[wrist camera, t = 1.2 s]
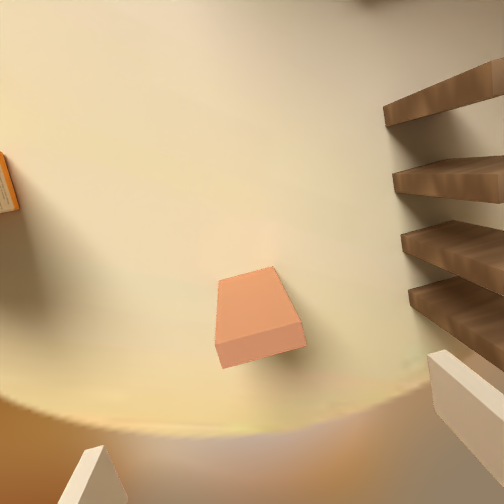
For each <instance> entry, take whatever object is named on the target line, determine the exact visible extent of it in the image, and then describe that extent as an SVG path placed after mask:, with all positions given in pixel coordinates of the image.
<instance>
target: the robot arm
mask: <svg viewBox="0 0 504 504" xmlns="http://www.w3.org/2000/svg"><path fill="white" fill-rule="evenodd" d="M427 357H428V365H429V372H430V380H431V387H432V395H433V402H434V410H435V412H436V413H437V414H438V416H439V417H440V418H441V419H442V420H443V421H444V422H445V423H446V424H447V426H448V427H449V428H450V429H451V430H452V431H453V432H454V433H455V434H456V435H457V437H458V438H459V439H460V440H461V441H462V442H463V443H464V444H465V446H466V447H467V448H468V449H469V450H470V451H471V452H472V453H473V454H474V456H475V457H476V458H477V459H478V460H479V461H480V462H481V463H482V464H483V466H484V467H485V468H486V469H487V470H488V471H489V472H490V473H491V474H492V476H493V477H494V478H495V479H496V480H497V481H498V482H499V483H500V484H501V485H502V487H503V488H504V394H502V393H501V392H500V391H499V390H497V389H496V388H495V387H493V386H492V385H491V384H489V383H488V382H487V381H486V380H484V379H483V378H482V377H480V376H479V375H478V374H477V373H475V372H474V371H472V370H471V369H470V368H469V367H468V366H466V365H465V364H464V363H463V362H461V361H460V360H459V359H457V358H456V357H455V356H454V355H452V354H451V353H450V352H448V351H447V350H446V349H445V350H441V351H437V352H434V353H430V354H427ZM127 501H128V497H127V494H126V492H125V490H124V488H123V485H122V483H121V481H120V479H119V476H118V474H117V472H116V470H115V468H114V465H113V463H112V461H111V459H110V456H109V454H108V452H107V450H106V448H105V445H102V446H99V447H95V448H91V449H87V450H85V451H84V453H83V455H82V457H81V459H80V461H79V463H78V465H77V467H76V469H75V471H74V473H73V475H72V477H71V479H70V480H69V482H68V484H67V486H66V489H65V490H64V492H63V494H62V496H61V498H60V500H59V502H58V504H127Z"/></svg>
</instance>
